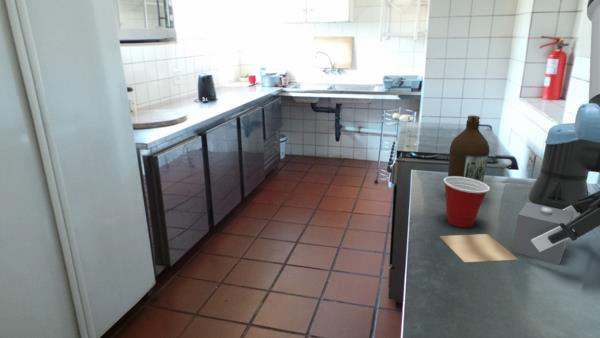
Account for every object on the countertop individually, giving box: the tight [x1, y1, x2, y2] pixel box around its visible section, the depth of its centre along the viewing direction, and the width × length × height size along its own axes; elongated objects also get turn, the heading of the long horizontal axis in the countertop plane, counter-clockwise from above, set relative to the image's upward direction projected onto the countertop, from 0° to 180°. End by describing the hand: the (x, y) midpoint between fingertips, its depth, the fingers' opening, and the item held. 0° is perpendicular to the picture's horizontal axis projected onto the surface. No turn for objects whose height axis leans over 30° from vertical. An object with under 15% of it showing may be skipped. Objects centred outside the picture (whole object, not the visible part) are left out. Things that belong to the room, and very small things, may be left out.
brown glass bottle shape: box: [447, 114, 490, 183], centre depth 120 cm, size 11×11×25 cm
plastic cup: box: [443, 176, 491, 228], centre depth 103 cm, size 11×11×12 cm
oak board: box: [439, 233, 519, 263], centre depth 92 cm, size 12×12×1 cm
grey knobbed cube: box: [511, 201, 573, 266], centre depth 89 cm, size 9×9×11 cm
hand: (541, 234), depth 89 cm, fingers open, 13 cm apart
